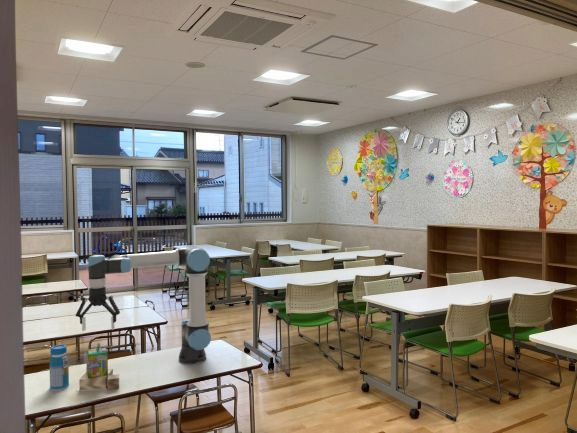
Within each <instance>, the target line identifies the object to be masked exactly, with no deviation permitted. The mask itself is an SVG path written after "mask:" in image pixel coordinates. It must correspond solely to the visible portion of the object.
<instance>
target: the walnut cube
mask: <svg viewBox="0 0 577 433" xmlns="http://www.w3.org/2000/svg"><path fill="white" fill-rule="evenodd" d="M107 389H108V390H107V391H111V390H118V389H120V374H119V373H118V374H113V375H109V376H108V386H107Z"/></svg>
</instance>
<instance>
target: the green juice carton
mask: <svg viewBox="0 0 577 433" xmlns="http://www.w3.org/2000/svg"><path fill="white" fill-rule="evenodd" d="M100 346H101V344H100V343H99V342H98V343H97V346H96V348H95V347H94V348H90V349H89V348H88V349H86V370H85V371H86V372H87V376H88V378H93V377H98V376H104V375H108V369H109V362H108V361H109V352H108V350H107V347H106V346H103V347H100ZM86 372H85V373H86Z"/></svg>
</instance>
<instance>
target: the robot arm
mask: <svg viewBox="0 0 577 433" xmlns="http://www.w3.org/2000/svg"><path fill="white" fill-rule="evenodd" d="M210 258H211V257H210V255H209V253H208V252H207V251H206V250H205V249H204V248H201V247H198V246H193V245H192V246H187V247H181V248H175V250H169V251H168V250H167V251H166V250H165V251H156V252H155V251H154V252H143V253H131V254H121V255H120V254H113V255H112V256H110V258H106V256H105V255H104V254H103V255H102V254H94V255H90V256H89V257H88V258H87V259H88V264H87V265H88V266H87V269H88V270H87V271H88V287H89V288H88V296H84V297H82V298H81V304H80V306H79V308H78V309H77V311H76V314H75V317H78V318H79V324H80V325H81V327H82V328H81V330H82V332H85V331H86V328H87V326H86V325H87V324H86V314H87V312H89V310H90V309H91V308H92V307H100V306H102V307H104V309H106V310H107V311H108V312H109V313H110V315H111V316H110V318H111V319H110V322H111V329H110V330H112V331H113V330H114V329H115V323H117V316H118V315H120V314H121V311H120V309H119V307H118V305H117V304H116V301H114V296H113V295H110V296H107V290H106V289H107V288H106V284H107V283H106V275H110V274H126V273H130V272H131V270H132V269H137V268H148V267H160V266H171V265H173V266H174V265H175V266H177V267H181V266H182V267H183V266H184V267H185V274H186V276H187V277H188V304H189V305H188V306H189V307H188V310H189V313H188V314H189V316H188V317H189V318H185V319H182V320H181V325H180V327H181V348H180V351H179V355H178V361H179V362H180V363H182V364H189V365H190V364H198V363H197V362H199V363H201V361H202V362H204V361H206V359H207V353H206V350H205V349H206V348H208V346H209V345H210V343H211V341H212V336H211V332H210V328H209V326H210V325H209V321H208V320H207V319H206V317H207V316H206V312H207V311H206V275H207V274H208V273H209V270H208V269H209V265H210V262H211V259H210ZM107 301H109V303H110V305H111V306H110V305H109V304H108V303H107ZM86 302H89V304H88V305H87V306H86V308H85V309H84V307H85V304H86ZM83 309H84V310H83ZM203 360H204V361H203Z"/></svg>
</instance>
